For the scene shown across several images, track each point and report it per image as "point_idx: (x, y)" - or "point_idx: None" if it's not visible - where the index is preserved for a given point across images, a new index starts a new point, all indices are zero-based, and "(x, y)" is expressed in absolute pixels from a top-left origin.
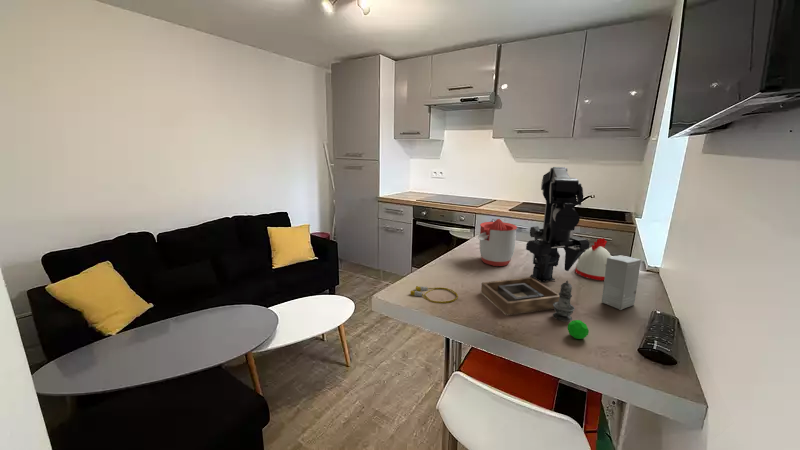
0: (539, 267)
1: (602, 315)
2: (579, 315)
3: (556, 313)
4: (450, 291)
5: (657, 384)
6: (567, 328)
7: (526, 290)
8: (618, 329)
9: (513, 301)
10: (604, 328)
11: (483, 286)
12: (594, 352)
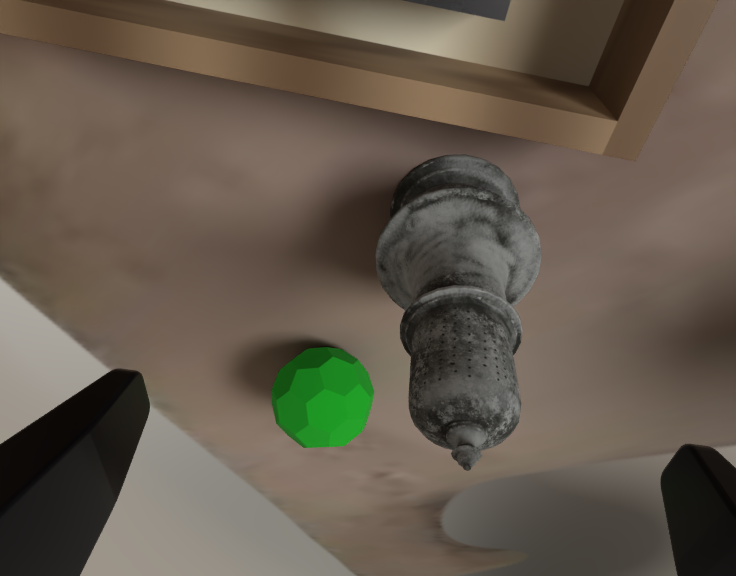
0: (2, 454)
1: (720, 314)
2: (586, 252)
3: (441, 183)
4: None
5: (344, 546)
6: (289, 362)
7: None
8: (599, 411)
9: (41, 13)
10: (546, 381)
11: None
12: None
